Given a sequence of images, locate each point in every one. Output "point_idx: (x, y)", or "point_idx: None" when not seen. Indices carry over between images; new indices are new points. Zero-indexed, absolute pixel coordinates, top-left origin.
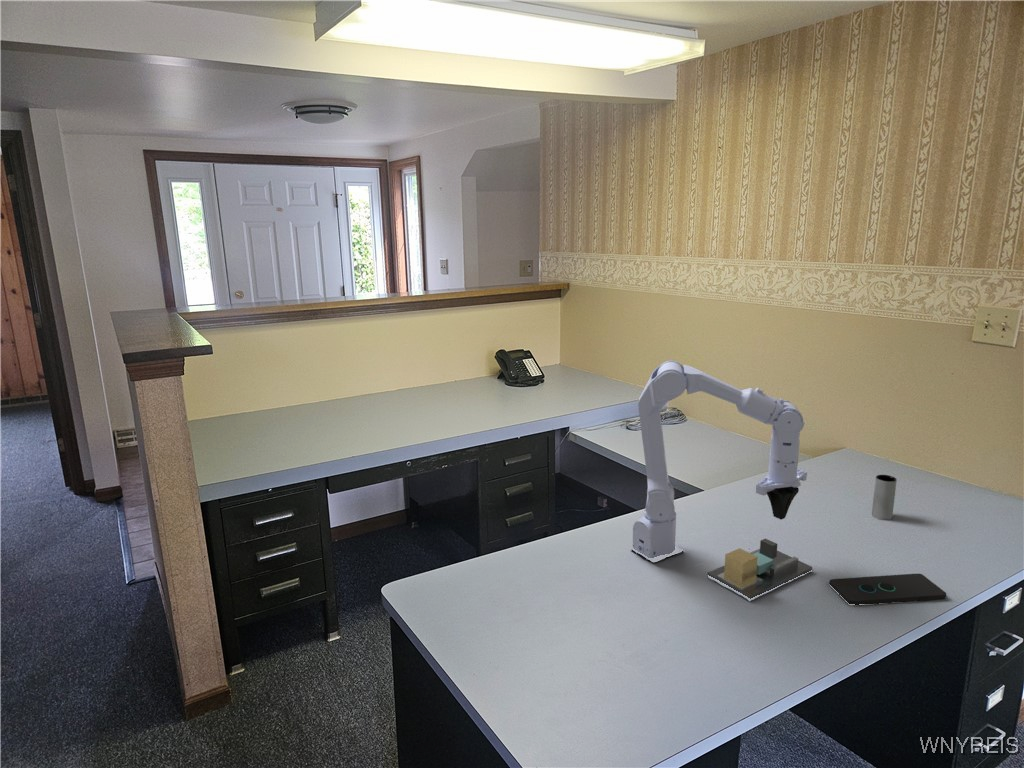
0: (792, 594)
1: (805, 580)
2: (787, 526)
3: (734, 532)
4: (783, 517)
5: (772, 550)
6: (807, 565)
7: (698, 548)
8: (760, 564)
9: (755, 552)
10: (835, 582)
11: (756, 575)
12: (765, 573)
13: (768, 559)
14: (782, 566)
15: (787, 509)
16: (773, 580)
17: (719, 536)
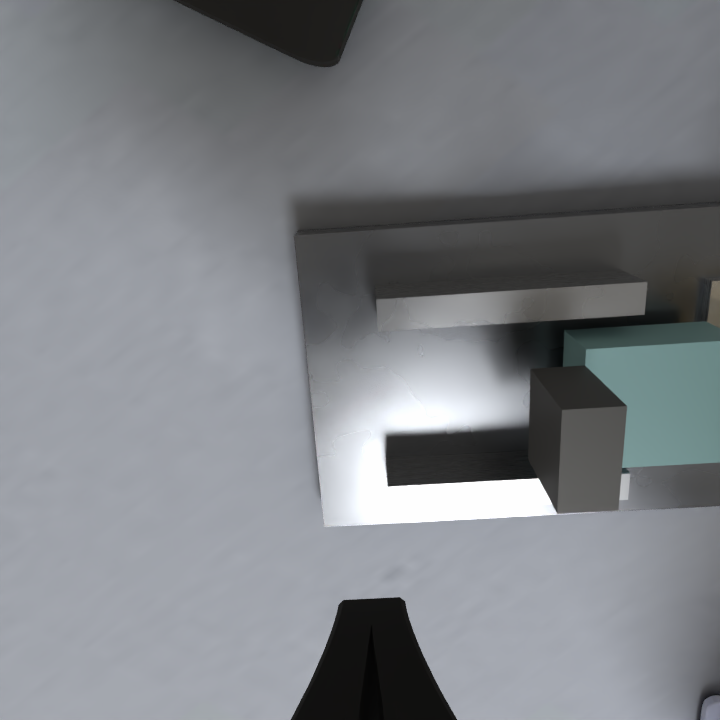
0: (625, 112)
1: (415, 184)
2: (14, 631)
3: None
4: (376, 607)
5: (607, 389)
6: (308, 264)
7: (608, 686)
8: (716, 351)
9: None
10: (323, 13)
11: None
12: None
13: (611, 369)
14: (554, 286)
15: (338, 669)
16: (647, 249)
17: None
